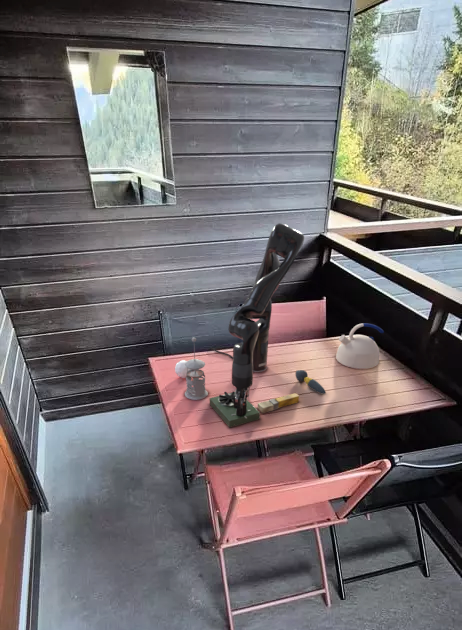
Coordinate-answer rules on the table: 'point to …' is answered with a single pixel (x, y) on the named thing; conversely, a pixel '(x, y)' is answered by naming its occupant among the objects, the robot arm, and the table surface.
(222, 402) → the burner
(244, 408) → the stove knob
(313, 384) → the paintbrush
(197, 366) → the french press
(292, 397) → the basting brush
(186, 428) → the table surface
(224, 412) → the stove
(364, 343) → the kettle
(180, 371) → the ball
